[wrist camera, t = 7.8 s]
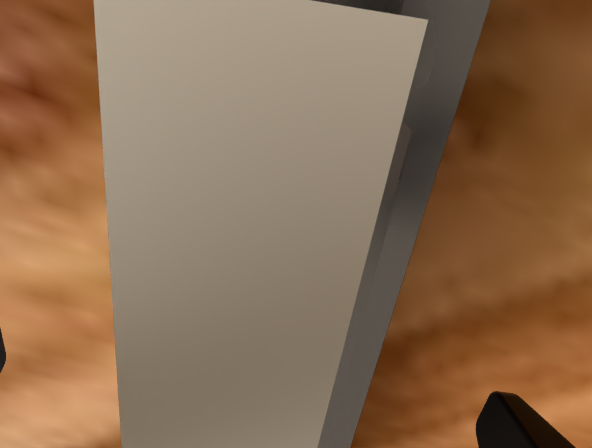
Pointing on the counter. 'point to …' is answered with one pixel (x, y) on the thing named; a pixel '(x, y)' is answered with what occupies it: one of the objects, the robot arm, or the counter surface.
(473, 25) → the track
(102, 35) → the door panel
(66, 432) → the counter surface
